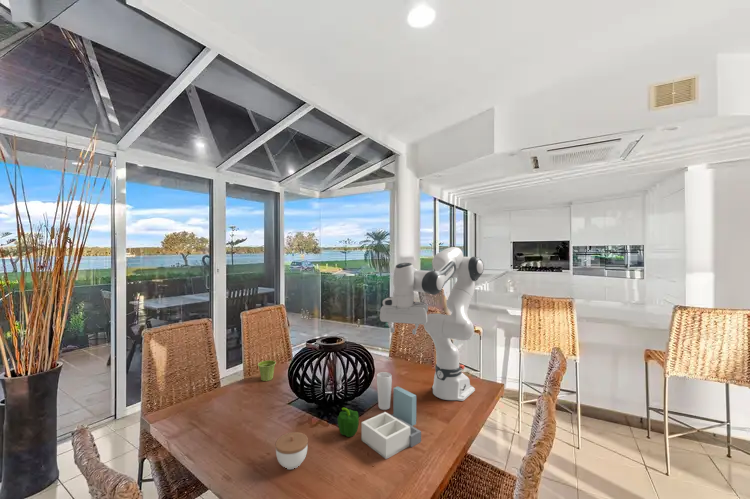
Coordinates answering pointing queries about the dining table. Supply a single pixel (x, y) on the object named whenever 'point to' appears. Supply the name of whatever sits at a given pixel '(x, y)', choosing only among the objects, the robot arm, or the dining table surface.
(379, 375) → the drinking glass
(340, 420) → the bell pepper
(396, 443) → the cabinet
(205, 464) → the dining table surface
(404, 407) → the door
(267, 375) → the plant pot
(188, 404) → the dining table surface
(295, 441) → the lidded jar
